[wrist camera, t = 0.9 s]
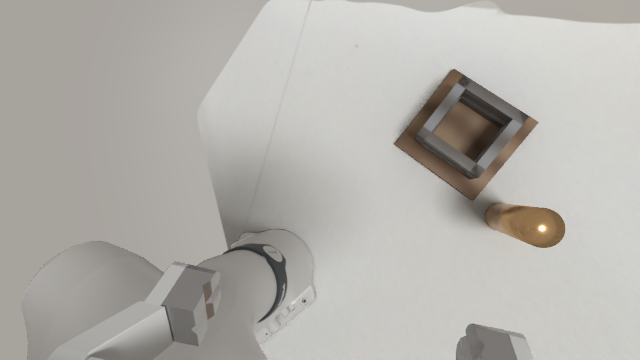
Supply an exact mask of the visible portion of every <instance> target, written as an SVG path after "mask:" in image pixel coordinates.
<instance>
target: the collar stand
mask: <svg viewBox="0 0 640 360" xmlns="http://www.w3.org/2000/svg"><path fill="white" fill-rule="evenodd" d="M538 123H539V122H537V121H536V120H534V119H533V118H531V117H529V116H528V115H526V114H525V113H523V112H522V111H520V110H518V109H517V108H515V107H514V106H512V105H511V104H509V103H507V102H506V101H504V100H503V99H501V98H499V97H498V96H496V95H495V94H493V93H492V92H490V91H488V90H487V89H485V88H484V87H482V86H481V85H479V84H477V83H476V82H474V81H473V80H471V79H469V78H468V77H466V76H465V75H463V74H462V73H460V72H458V71H457V70H455V69H453V70H452V72H451V73H450V74H449V75H448V77H447V78H446V79H445V81H444V82H443V83H442V84H441V86H440V87H439V88H438V90H437V91H436V92H435V93H434V95H433V96H432V97H431V99H430V100H429V101H428V102H427V104H426V105H425V106H424V108H423V109H422V110H421V111H420V113H419V114H418V115H417V117H416V118H415V119H414V120H413V122H412V123H411V124H410V126H409V127H408V128H407V129H406V131H405V132H404V133H403V135H402V136H401V137H400V138H399V140H398V141H397V142H396V144H395V145H396V146H397V147H399V148H400V149H402V150H403V151H404V152H406V153H407V154H409V155H410V156H411V157H413V158H414V159H415V160H417V161H418V162H420V163H421V164H422V165H424V166H425V167H426V168H428V169H429V170H431V171H432V172H433V173H435V174H436V175H438V176H439V177H440V178H442V179H443V180H444V181H446V182H447V183H449V184H450V185H451V186H453V187H454V188H455V189H457V190H458V191H460V192H461V193H462V194H464V195H465V196H466V197H468V198H469V199H471V200H472V201H473V200H474V199H475V198H476V197H477V196H478V194H479V193H480V192H481V191H482V190H483V188H484V187H485V186H486V185H487V184H488V182H489V181H490V180H491V179H492V178H493V176H494V175H495V174H496V173H497V172H498V170H499V169H500V168H501V167H502V166H503V164H504V163H505V162H506V161H507V160H508V158H509V157H510V156H511V155H512V154H513V152H514V151H515V150H516V149H517V148H518V146H519V145H520V144H521V143H522V142H523V140H524V139H525V138H526V137H527V136H528V134H529V133H530V132H531V131H532V130H533V128H534V127H535V126H536V125H537V124H538Z"/></svg>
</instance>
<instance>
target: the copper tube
mask: <svg viewBox="0 0 640 360" xmlns="http://www.w3.org/2000/svg"><path fill="white" fill-rule="evenodd" d="M485 219H486V222H487V224H488V225H489V226H490V227H491V228H493V229H495V230H497V231H499V232H502V233H504V234H507V235H509V236H511V237H514V238H516V239H519V240H521V241H524V242H526V243H528V244H531V245H533V246H536V247H540V248H548V247H552V246H554V245H556V244H557V243H559V242H560V241H561V240H562V238H563V236H564V234H565V224H564V221H563V219H562V218H561V216H560V215H559V214H557V213H556V212H555V211H553V210H550V209H547V208H538V207H529V206H520V205H511V204H501V203H498V204H494V205H492V206H490V207H489V208H488V209H487V211H486V214H485Z"/></svg>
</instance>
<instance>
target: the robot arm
mask: <svg viewBox="0 0 640 360" xmlns="http://www.w3.org/2000/svg"><path fill="white" fill-rule="evenodd" d="M230 247H231V249H230V250H228V251H226V252H225V253H223V254H222V255H220V256H217V257H214V258H211V259H208V260H205V261H203V262H201V263H200V264H198V265H197V266H193V265H189V264H184V263H180V262H174V263H172V264H171V265H170V266H169V268H168V269H167V271H166V272H165V273H163V272H162V271H161V270H159V269H158V268H157V267H155V266H154V265H153V264H151V263H150V262H149V261H147V260H146V259H145V258H143V257H141V256H139V255H137V254H134V253H132V252H130V251H128V250H125V249H123V248H120V247H118V246H115V245H112V244H110V243H107V242H104V241H91V242H86V243H83V244H79V245H76V246H74V247H71V248H69V249H67V250H65V251H63V252H61V253H59V254H58V255H56V256H55V257H53V258H52V259H51V260H49V261H48V262H47V263H46V264H45V265H44V266H43V267H42V268H41V269H40V270H39V271H38V272H37V273H36V275H35V276H34V277H33V279H32V280H31V282H30V283H29V285H28V287H27V290H26V291H25V294H24V297H23V300H22V311H23V315H24V319H25V324H26V329H27V338H28V356H27V360H268V359H267V358H266V356H265V355H264V353H263V351H262V350H261V348H260V346H259V344H262V343H263V342H265V341H266V340H267V339H268V338H270V337H271V336H272V335H273V334H275V333H276V332H277V331H278V330H279V329H281V328H282V327H283V326H284V325H285V324H287V323H288V322H289V321H290V320H292V319H293V318H294V317H295V316H296V315H298V314H299V313H300V312H301V311H303V310H304V309H305V308H306V307H307V306H309V305H310V304H311V303H312V302H313V301H314V300H315V299H316V293H315V289H314V286H313V282H312V277H313V263H312V258H311V255H310V252H309V250H308V248H307V247H306V245H305V244H304V243H303V242H302V240H301V239H299V238H298V237H297V236H296V235H294V234H292V233H290V232H288V231H285V230H280V229H272V230H267V231H264V232H261V233H252V232H246V233H244V234H242V235H241V236H240V238H239V240H238V242H235V243H233V244H232V245H231V246H230ZM303 298H305V299H306V302H304V301H303ZM466 335H467V336H464V337H462V338H460V340H459V342H458V344H457V349H456V360H534V359H533V356H532V354H531V351H530V348H529V346H528V343H527V340H526V338H525V337H524V336H523V334H520V333H515V332H510V331H504V330H502V329H497V328H492V327H487V326H482V325H476V324H470V325H468V327H467V328H466Z"/></svg>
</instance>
